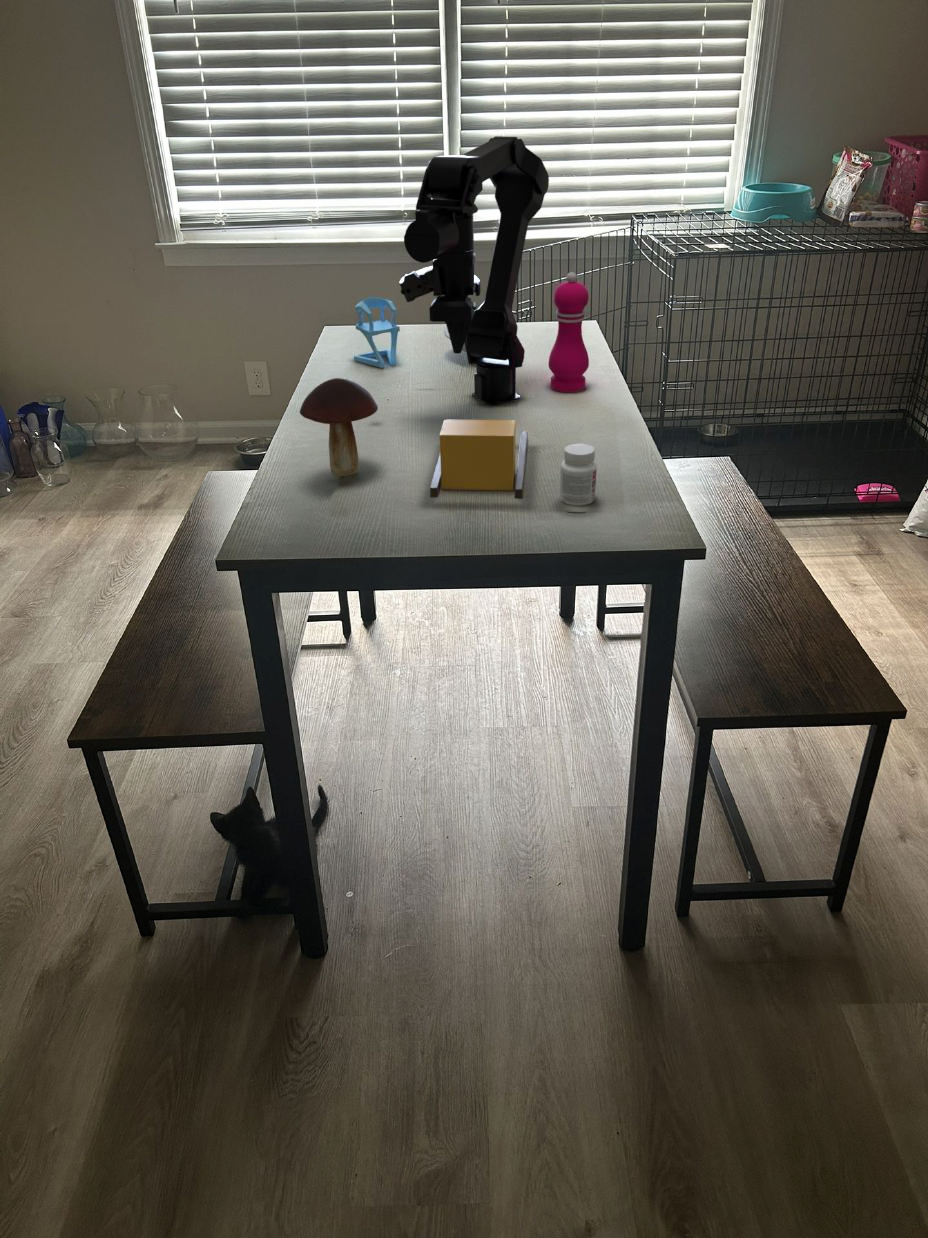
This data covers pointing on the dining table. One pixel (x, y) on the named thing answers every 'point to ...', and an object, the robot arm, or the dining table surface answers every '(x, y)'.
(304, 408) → the decorative mushroom
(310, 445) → the dining table surface
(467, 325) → the robot arm
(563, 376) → the pepper mill
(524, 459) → the maple track
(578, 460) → the pill bottle
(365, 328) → the chair
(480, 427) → the ochre block
